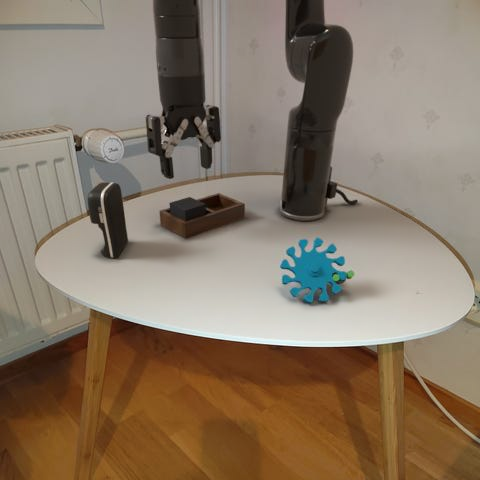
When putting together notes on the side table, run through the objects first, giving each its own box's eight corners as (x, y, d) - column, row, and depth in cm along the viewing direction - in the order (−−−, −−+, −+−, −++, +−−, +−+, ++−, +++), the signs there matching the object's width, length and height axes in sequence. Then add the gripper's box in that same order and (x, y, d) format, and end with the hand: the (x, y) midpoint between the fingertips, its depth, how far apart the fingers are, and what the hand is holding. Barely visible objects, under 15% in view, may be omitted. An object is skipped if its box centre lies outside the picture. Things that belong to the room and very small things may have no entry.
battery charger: (109, 240, 77) (98, 178, 70) (129, 241, 77) (120, 179, 70) (95, 258, 72) (81, 192, 65) (116, 259, 71) (105, 194, 65)
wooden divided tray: (160, 225, 83) (159, 210, 81) (219, 206, 92) (218, 192, 90) (185, 239, 78) (184, 223, 77) (244, 218, 87) (245, 203, 85)
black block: (190, 215, 85) (189, 196, 83) (206, 223, 82) (206, 203, 80) (170, 222, 82) (169, 202, 80) (186, 230, 80) (185, 210, 77)
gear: (275, 294, 61) (287, 229, 62) (271, 301, 67) (282, 242, 68) (349, 309, 61) (360, 244, 62) (338, 315, 67) (348, 256, 68)
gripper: (156, 77, 61) (168, 187, 71) (229, 69, 69) (230, 169, 79) (129, 72, 65) (143, 176, 75) (200, 65, 73) (205, 160, 83)
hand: (188, 172), depth 77 cm, fingers open, 8 cm apart
